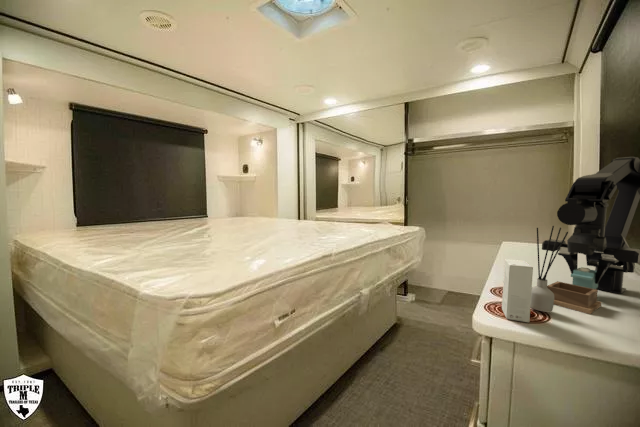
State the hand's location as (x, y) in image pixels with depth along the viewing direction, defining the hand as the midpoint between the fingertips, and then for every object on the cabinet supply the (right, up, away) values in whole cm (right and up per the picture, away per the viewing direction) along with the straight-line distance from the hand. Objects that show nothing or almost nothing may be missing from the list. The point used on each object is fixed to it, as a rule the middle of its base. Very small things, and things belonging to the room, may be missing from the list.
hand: (585, 281), depth 75 cm
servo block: (0, -2, 0) cm, 2 cm away
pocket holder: (-9, -4, -6) cm, 12 cm away
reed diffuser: (-21, -5, -12) cm, 24 cm away
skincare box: (-29, -5, -13) cm, 32 cm away
